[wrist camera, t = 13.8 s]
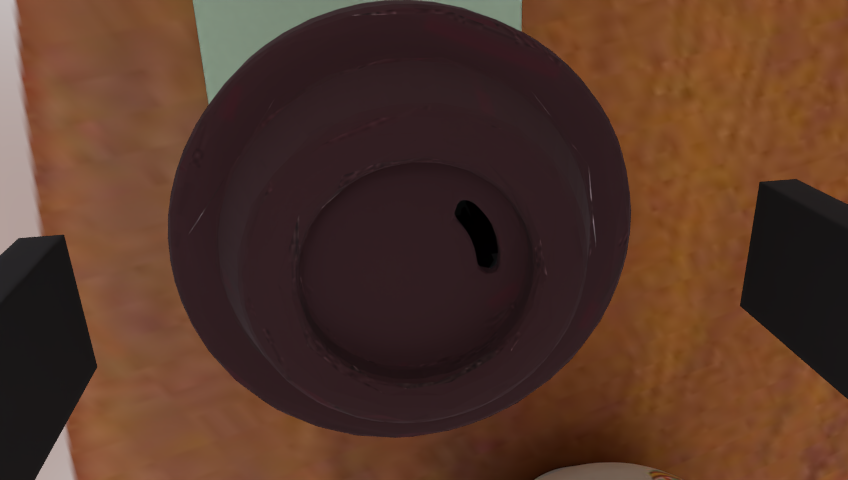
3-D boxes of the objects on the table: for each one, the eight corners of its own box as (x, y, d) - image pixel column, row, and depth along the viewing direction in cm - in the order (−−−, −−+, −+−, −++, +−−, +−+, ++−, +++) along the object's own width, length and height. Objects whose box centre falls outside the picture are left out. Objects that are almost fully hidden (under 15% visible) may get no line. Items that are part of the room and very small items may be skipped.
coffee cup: (230, 221, 28) (142, 479, 14) (248, -44, 25) (154, -37, 11) (470, 245, 30) (596, 495, 16) (518, 2, 26) (733, 57, 13)
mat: (187, -47, 25) (184, -47, 24) (519, -60, 26) (523, -60, 26) (235, 262, 29) (233, 268, 29) (514, 238, 31) (518, 243, 30)
